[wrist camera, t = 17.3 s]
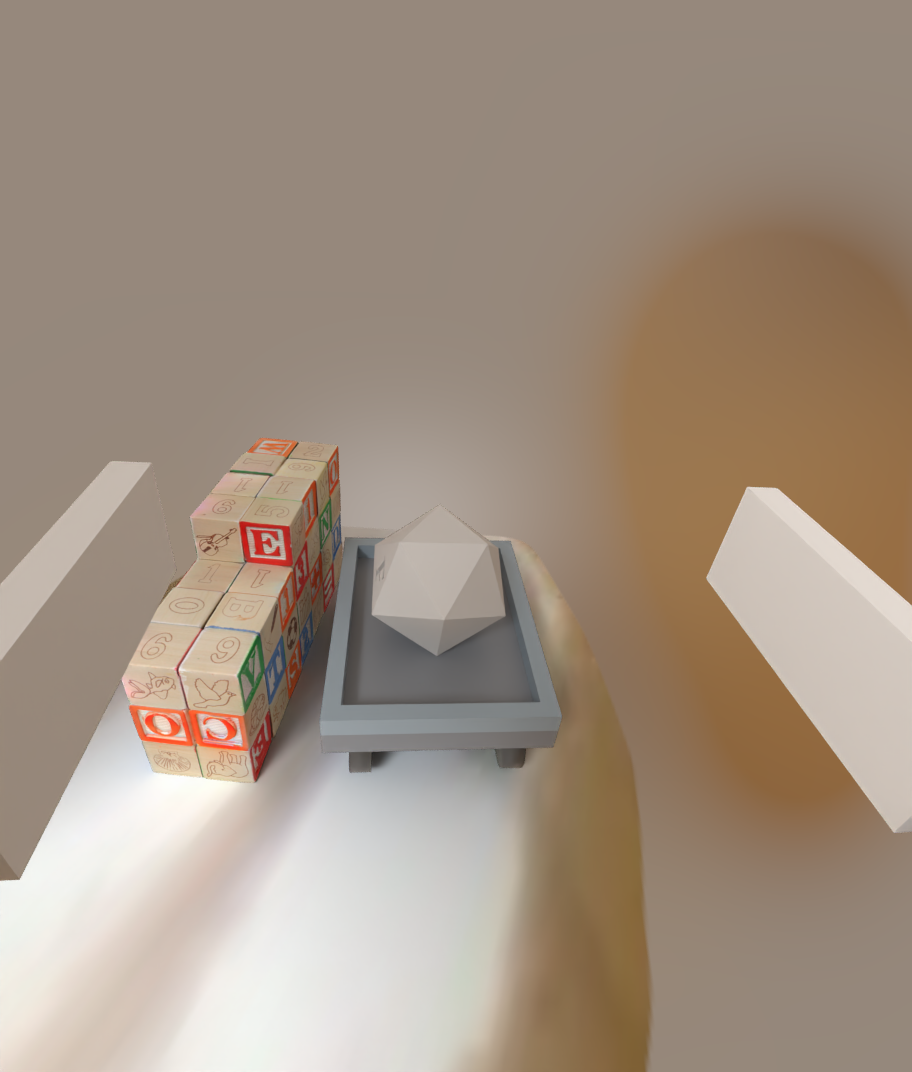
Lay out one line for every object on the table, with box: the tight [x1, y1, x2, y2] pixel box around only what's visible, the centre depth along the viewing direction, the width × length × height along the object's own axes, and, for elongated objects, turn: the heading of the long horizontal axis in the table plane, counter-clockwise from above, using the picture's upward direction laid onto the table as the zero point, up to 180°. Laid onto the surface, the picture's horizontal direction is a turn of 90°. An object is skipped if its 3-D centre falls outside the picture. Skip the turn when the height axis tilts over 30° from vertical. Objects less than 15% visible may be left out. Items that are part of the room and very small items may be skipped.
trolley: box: [319, 538, 562, 773], centre depth 38 cm, size 13×17×6 cm
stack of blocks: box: [121, 438, 342, 783], centre depth 38 cm, size 21×6×12 cm, turn 176°
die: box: [372, 504, 506, 656], centre depth 35 cm, size 8×9×10 cm
